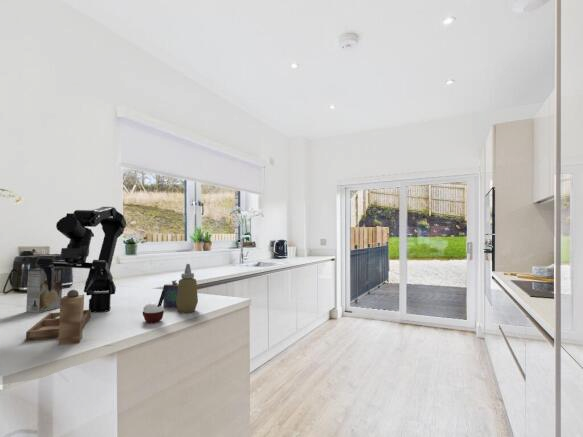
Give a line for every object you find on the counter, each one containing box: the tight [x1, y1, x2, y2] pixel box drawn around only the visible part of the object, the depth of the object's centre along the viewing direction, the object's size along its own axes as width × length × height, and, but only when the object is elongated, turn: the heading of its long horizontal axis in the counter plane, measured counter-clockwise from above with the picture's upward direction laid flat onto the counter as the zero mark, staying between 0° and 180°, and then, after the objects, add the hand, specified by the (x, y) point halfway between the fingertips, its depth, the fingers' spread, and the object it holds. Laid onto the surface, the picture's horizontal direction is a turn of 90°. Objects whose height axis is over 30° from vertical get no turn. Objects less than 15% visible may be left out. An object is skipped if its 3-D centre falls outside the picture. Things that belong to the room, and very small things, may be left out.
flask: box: [162, 280, 179, 309], centre depth 127 cm, size 9×3×11 cm, turn 71°
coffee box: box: [25, 267, 64, 313], centre depth 121 cm, size 9×6×16 cm
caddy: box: [25, 309, 92, 342], centre depth 97 cm, size 12×23×2 cm, turn 26°
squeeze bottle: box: [176, 263, 199, 314], centre depth 120 cm, size 8×8×18 cm
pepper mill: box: [57, 289, 85, 346], centre depth 85 cm, size 5×5×14 cm
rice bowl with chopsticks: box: [142, 285, 168, 324], centre depth 104 cm, size 10×6×12 cm, turn 48°
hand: (67, 291), depth 96 cm, fingers open, 9 cm apart
